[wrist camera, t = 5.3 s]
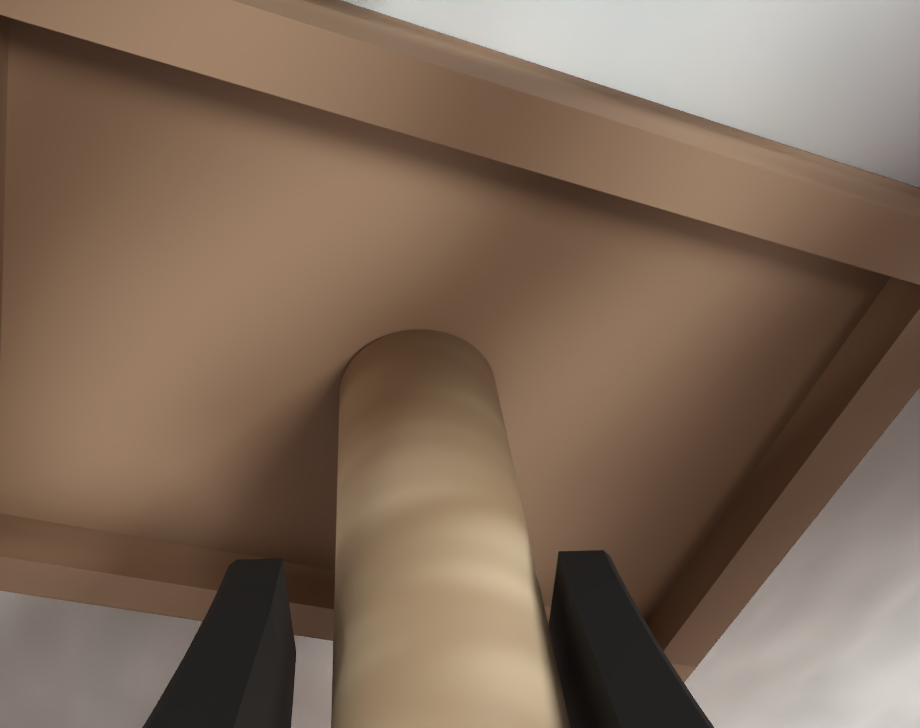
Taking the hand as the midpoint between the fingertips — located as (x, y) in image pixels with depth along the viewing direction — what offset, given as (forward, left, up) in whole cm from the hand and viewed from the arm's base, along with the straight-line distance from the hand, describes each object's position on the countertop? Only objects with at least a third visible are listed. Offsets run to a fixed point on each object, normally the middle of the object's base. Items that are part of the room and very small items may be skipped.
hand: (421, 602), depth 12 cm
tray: (0, 0, -5) cm, 5 cm away
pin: (0, 0, -4) cm, 5 cm away
